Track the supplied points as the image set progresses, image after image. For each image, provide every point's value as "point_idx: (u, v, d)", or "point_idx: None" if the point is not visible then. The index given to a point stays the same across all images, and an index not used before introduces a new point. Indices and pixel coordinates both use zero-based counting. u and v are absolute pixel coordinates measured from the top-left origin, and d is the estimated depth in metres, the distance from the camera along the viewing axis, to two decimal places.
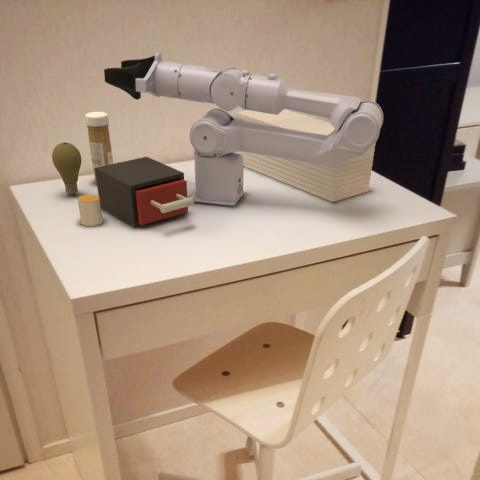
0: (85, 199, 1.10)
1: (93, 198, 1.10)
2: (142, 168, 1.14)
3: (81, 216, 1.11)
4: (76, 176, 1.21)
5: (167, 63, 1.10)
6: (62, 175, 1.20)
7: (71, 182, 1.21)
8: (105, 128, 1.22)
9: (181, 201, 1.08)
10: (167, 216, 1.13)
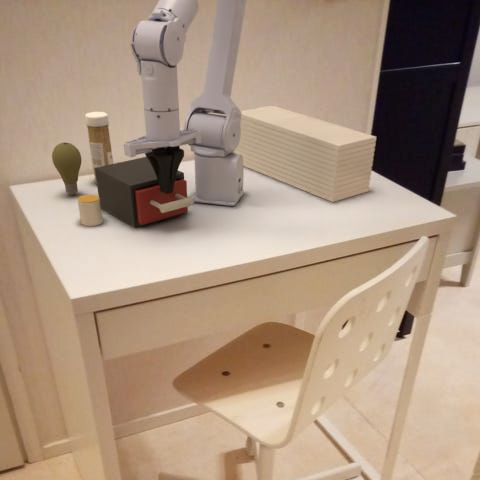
0: (85, 199, 1.10)
1: (93, 198, 1.10)
2: (142, 168, 1.14)
3: (81, 216, 1.11)
4: (76, 176, 1.21)
5: (175, 128, 1.00)
6: (62, 175, 1.20)
7: (71, 182, 1.21)
8: (105, 128, 1.22)
9: (181, 201, 1.08)
10: (167, 216, 1.13)
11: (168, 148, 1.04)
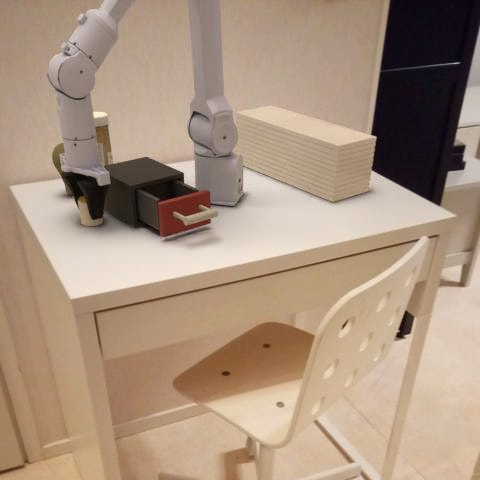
0: None
1: None
2: (142, 168, 1.14)
3: (81, 216, 1.11)
4: None
5: (69, 156, 1.04)
6: None
7: None
8: (105, 128, 1.22)
9: (205, 213, 1.04)
10: (189, 228, 1.08)
11: (88, 177, 1.06)
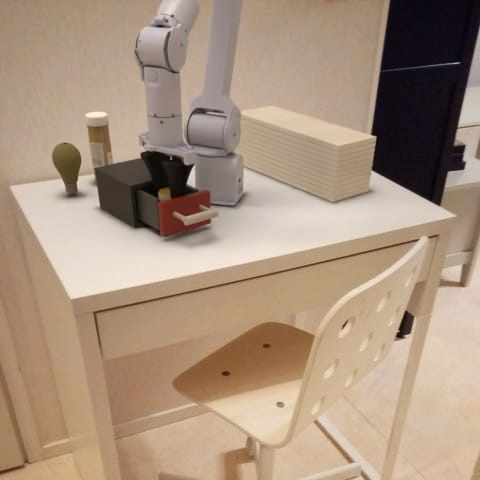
0: (166, 191, 1.08)
1: None
2: (142, 168, 1.14)
3: None
4: (76, 176, 1.21)
5: (154, 134, 1.00)
6: (62, 175, 1.20)
7: (71, 182, 1.21)
8: (105, 128, 1.22)
9: (205, 213, 1.04)
10: (189, 228, 1.08)
11: (172, 157, 1.02)
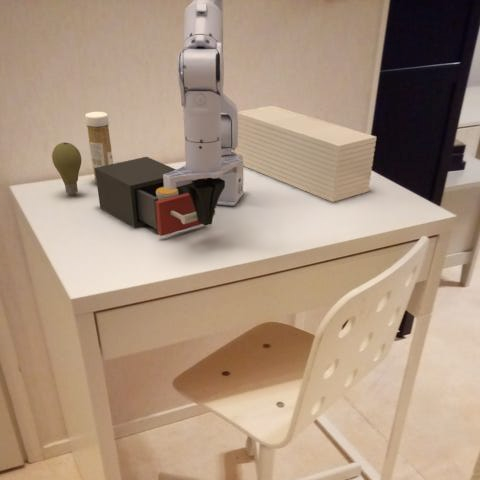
0: (164, 190, 1.08)
1: (171, 190, 1.08)
2: (142, 168, 1.14)
3: None
4: (76, 176, 1.21)
5: (217, 159, 0.95)
6: (62, 175, 1.20)
7: (71, 182, 1.21)
8: (105, 128, 1.22)
9: None
10: (187, 226, 1.09)
11: (208, 179, 0.99)
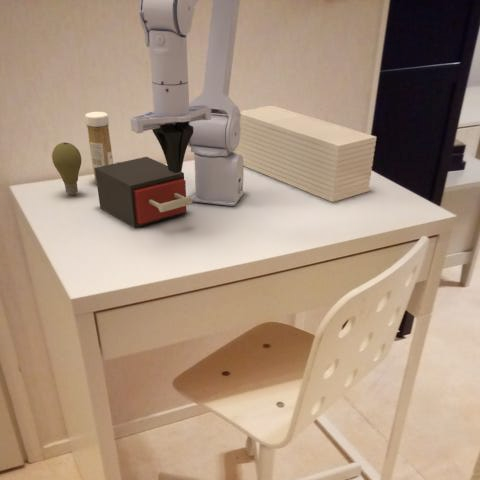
0: None
1: None
2: (142, 168, 1.14)
3: None
4: (76, 176, 1.21)
5: (184, 103, 0.96)
6: (62, 175, 1.20)
7: (71, 182, 1.21)
8: (105, 128, 1.22)
9: (179, 200, 1.08)
10: (165, 215, 1.13)
11: (177, 124, 0.99)
